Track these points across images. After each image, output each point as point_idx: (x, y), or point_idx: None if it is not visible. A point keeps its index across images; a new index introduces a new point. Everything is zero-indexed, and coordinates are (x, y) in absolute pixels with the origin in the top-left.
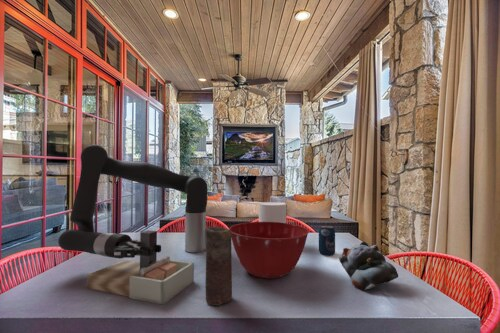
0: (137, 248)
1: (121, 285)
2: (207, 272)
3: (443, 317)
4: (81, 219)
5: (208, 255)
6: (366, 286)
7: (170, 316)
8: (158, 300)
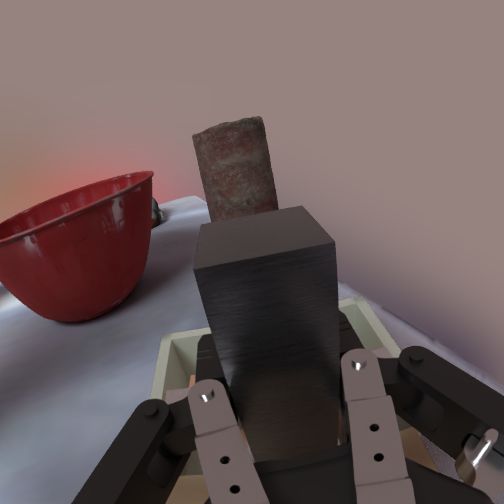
0: (376, 359)
1: None
2: None
3: (200, 199)
4: None
5: (272, 184)
6: (159, 216)
7: (377, 309)
8: None
